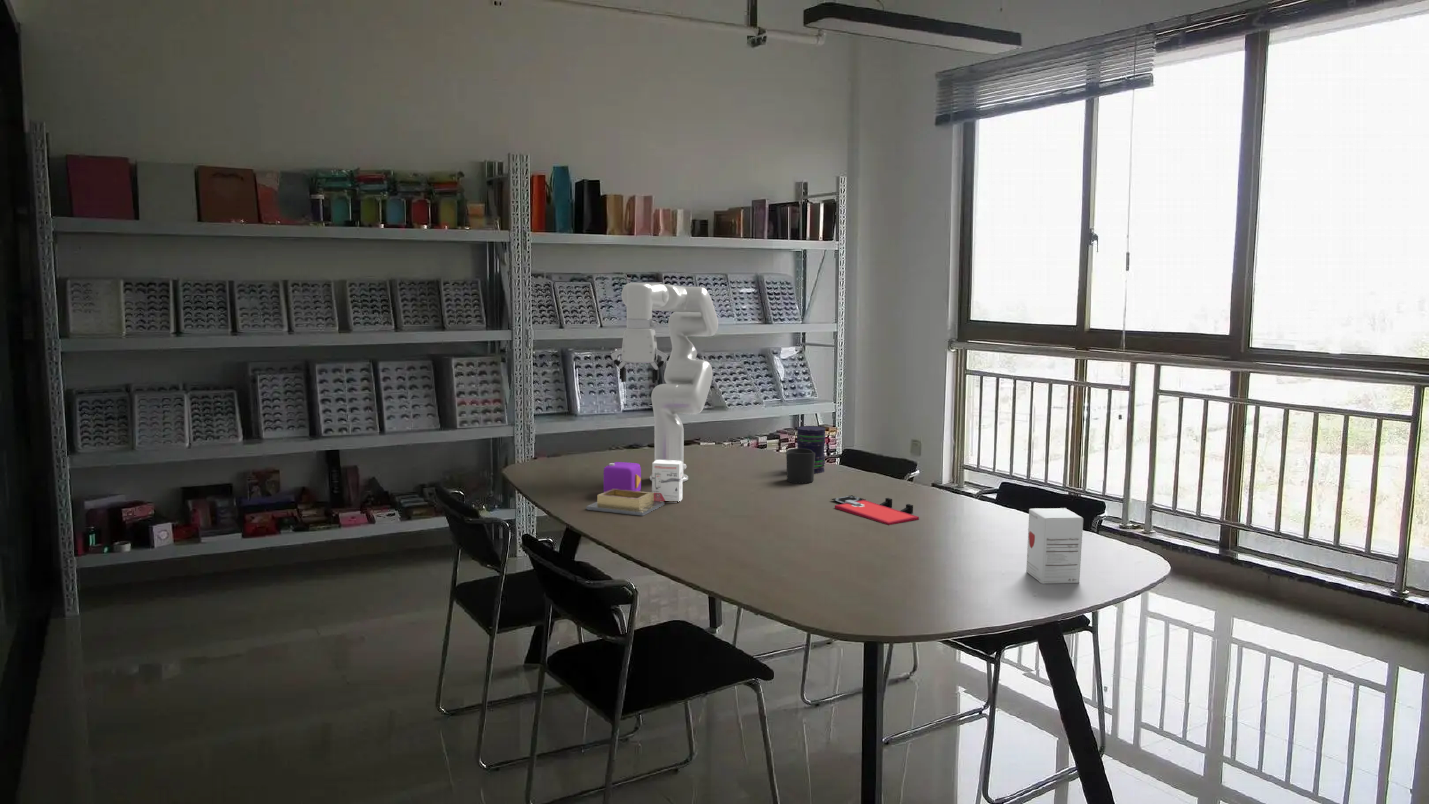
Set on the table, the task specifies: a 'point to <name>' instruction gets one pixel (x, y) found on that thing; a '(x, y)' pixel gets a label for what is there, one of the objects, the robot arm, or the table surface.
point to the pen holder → (800, 465)
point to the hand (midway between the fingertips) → (639, 382)
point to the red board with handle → (875, 510)
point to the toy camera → (622, 476)
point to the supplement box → (1054, 545)
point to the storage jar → (813, 443)
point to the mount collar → (625, 502)
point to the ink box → (667, 480)
